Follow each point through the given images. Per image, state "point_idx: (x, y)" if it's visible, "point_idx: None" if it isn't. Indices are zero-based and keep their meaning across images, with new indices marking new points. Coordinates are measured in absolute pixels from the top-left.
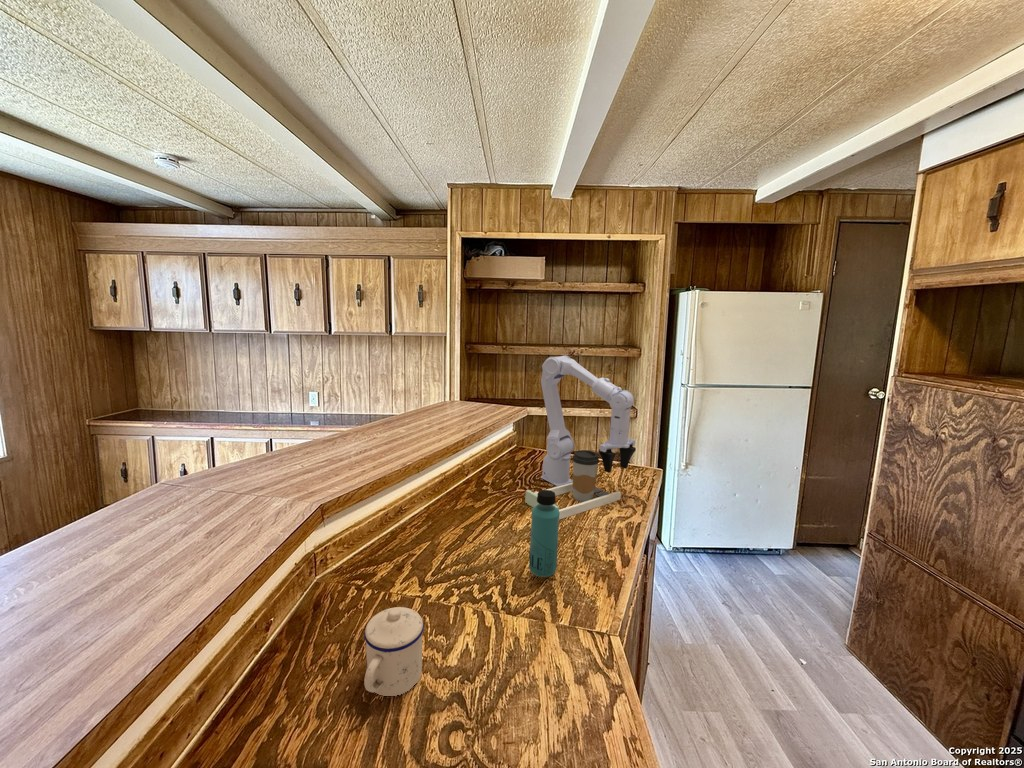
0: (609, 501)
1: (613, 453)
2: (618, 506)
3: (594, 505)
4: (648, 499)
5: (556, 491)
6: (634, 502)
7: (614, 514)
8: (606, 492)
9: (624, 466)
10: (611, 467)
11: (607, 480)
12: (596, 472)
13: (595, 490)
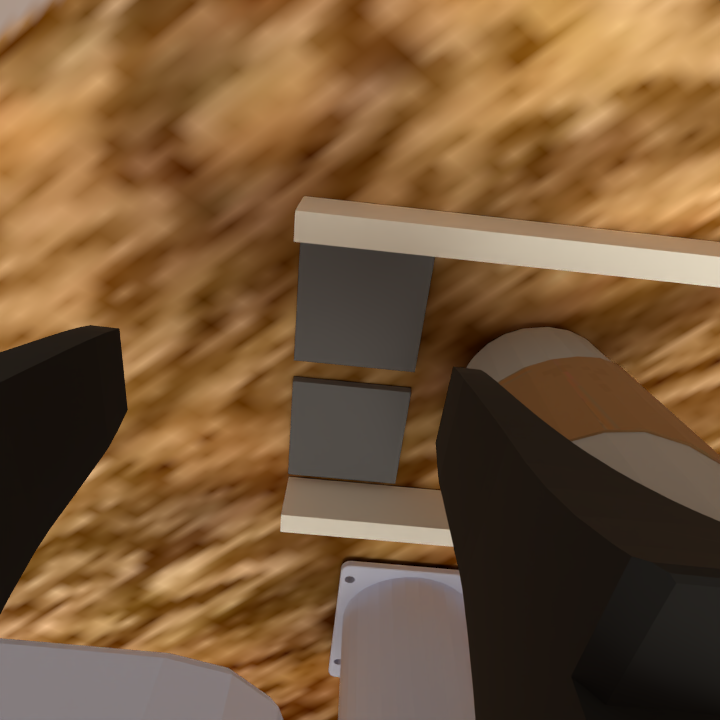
0: (450, 214)
1: (705, 625)
2: (442, 116)
3: (640, 238)
4: (48, 10)
5: None
6: (238, 67)
7: (629, 28)
8: (305, 340)
9: (106, 360)
10: (488, 396)
11: (102, 465)
12: None
13: (348, 408)
